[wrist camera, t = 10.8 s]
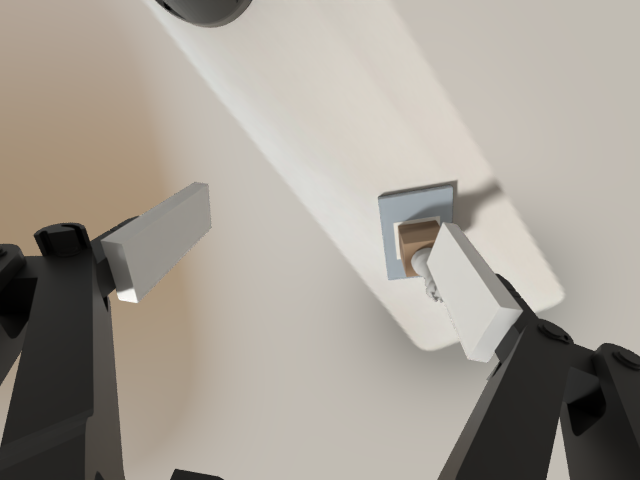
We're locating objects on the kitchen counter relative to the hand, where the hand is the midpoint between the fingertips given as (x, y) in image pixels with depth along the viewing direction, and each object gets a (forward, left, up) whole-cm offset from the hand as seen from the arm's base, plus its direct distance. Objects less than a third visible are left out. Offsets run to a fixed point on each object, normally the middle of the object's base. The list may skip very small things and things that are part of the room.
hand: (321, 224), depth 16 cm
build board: (+18, +10, -29) cm, 35 cm away
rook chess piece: (+18, +10, -22) cm, 30 cm away
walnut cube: (+18, +10, -27) cm, 34 cm away
